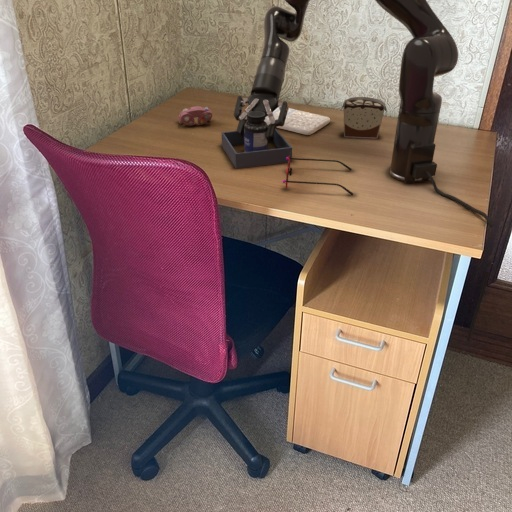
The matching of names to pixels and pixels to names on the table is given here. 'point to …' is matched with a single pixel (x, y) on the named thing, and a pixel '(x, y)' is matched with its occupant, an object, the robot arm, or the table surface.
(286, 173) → the glasses
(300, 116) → the calculator
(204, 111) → the pink toy car
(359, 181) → the table surface
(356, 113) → the food container
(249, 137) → the pill bottle
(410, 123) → the robot arm
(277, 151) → the fence
